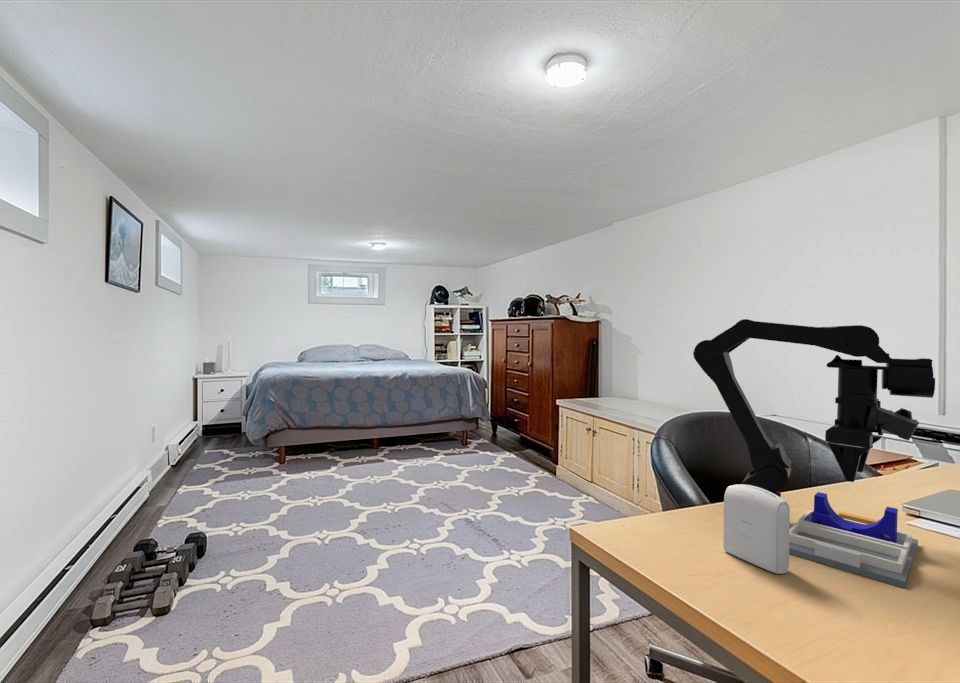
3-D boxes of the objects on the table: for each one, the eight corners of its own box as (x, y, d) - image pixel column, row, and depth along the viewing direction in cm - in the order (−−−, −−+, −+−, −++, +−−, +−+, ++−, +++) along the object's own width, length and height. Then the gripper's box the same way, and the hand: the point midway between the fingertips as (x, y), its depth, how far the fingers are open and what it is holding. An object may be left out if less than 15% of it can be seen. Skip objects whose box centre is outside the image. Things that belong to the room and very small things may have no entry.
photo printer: (718, 550, 84) (720, 480, 84) (734, 545, 86) (736, 477, 85) (776, 577, 74) (779, 499, 74) (793, 572, 76) (795, 495, 76)
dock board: (905, 588, 72) (905, 568, 72) (776, 550, 84) (777, 533, 84) (917, 545, 87) (918, 529, 87) (807, 518, 99) (807, 503, 99)
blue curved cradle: (811, 528, 92) (812, 497, 92) (817, 521, 95) (817, 492, 95) (893, 549, 83) (894, 515, 83) (896, 541, 86) (897, 508, 86)
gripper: (910, 402, 76) (907, 499, 76) (920, 393, 89) (917, 476, 89) (825, 395, 84) (823, 482, 84) (846, 388, 97) (843, 464, 97)
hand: (854, 476), depth 89 cm, fingers open, 9 cm apart
